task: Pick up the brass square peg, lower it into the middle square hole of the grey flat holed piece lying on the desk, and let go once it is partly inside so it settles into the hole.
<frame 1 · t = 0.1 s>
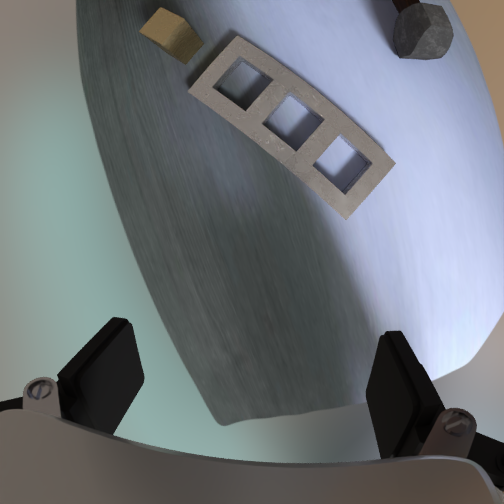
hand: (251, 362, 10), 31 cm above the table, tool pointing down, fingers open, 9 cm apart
grey flat holed piece: (292, 123, 36), on the table
brass peg: (184, 48, 34), on the table
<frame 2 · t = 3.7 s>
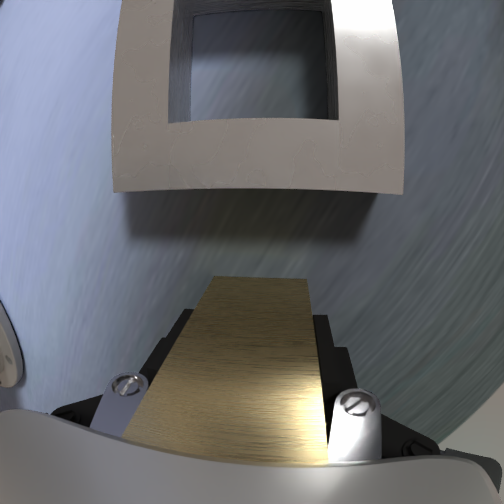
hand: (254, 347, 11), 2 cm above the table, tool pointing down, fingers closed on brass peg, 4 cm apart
brass peg: (259, 318, 14), on the table, touching gripper
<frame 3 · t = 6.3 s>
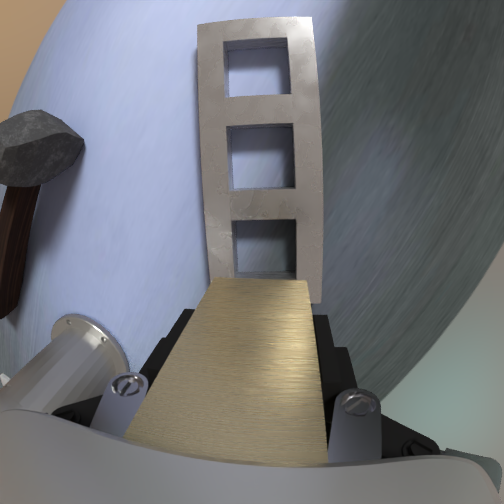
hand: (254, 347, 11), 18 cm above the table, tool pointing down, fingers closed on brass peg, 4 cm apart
grey flat holed piece: (262, 157, 26), on the table
hammer: (34, 227, 31), on the table
brass peg: (259, 319, 14), point 15 cm above the table, touching gripper
when the fingers open (3 cm above the table, at t = 9.1 s): brass peg stays where it is, resting in grey flat holed piece.
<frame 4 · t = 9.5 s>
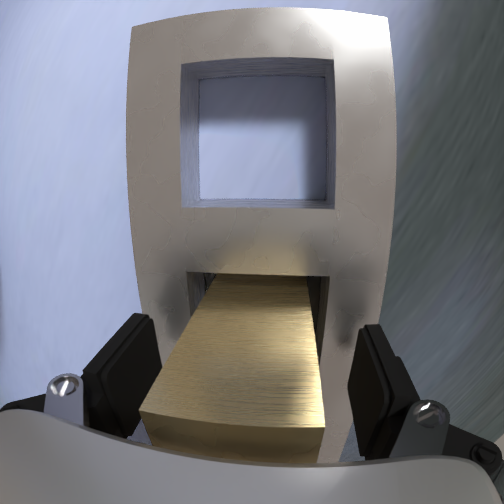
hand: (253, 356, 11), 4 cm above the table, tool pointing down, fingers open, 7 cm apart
grey flat holed piece: (261, 308, 15), on the table
brass peg: (262, 309, 15), resting in grey flat holed piece
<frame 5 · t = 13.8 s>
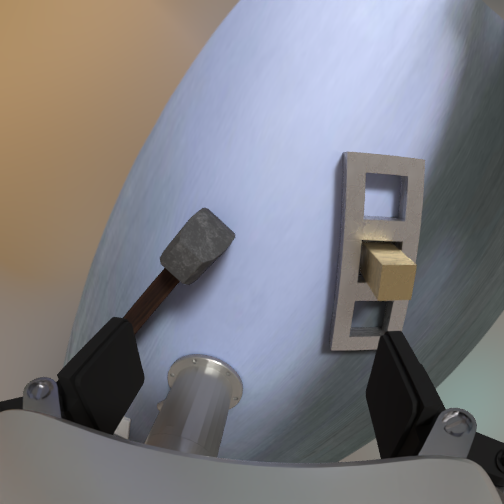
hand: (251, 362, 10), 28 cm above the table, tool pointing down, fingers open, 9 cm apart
grey flat holed piece: (375, 256, 37), on the table
hammer: (161, 289, 43), on the table
external hard drive: (106, 414, 55), on the table
brass peg: (375, 256, 37), resting in grey flat holed piece
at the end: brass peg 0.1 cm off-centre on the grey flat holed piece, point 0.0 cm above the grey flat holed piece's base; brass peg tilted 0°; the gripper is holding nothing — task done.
